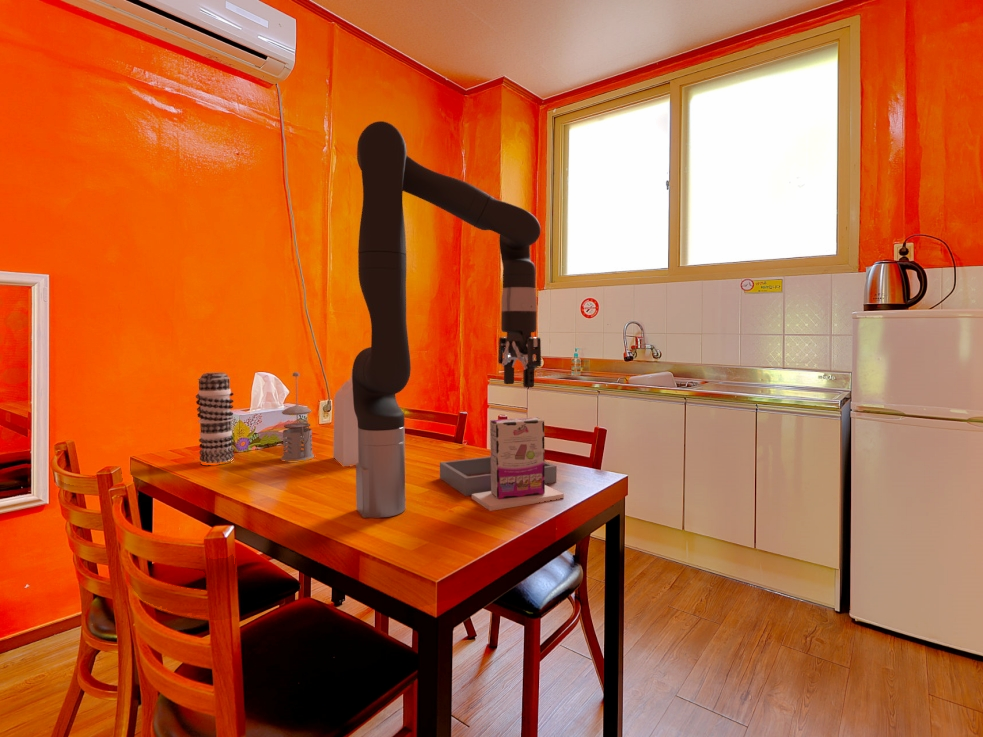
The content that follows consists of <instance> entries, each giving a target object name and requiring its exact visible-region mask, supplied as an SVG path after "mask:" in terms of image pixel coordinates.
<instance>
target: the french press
mask: <svg viewBox="0 0 983 737" xmlns="http://www.w3.org/2000/svg"><path fill="white" fill-rule="evenodd" d="M300 376H301V375H300V373H299V372H297V371H295V372H293V373H292V377H295V402H296V403H295V405H293V406H289V407H287V408H285V409H284V410H282V411H281V414H282V415H286V416H296V422H295V423H293V422H292V423H286V424H284V425H283V427H284V428H285V429H284V430H283V431H282V437H283V438H282V442H283V444H282V445H283V454H282V455H283V456H282V457H281V458H280V459H281V460H285V461H299V460H306V459H310V458H313V457H314V455H315V454H314V453H313V440H312V438H313V436H312V433H313V432H312V431H313V430H312V428H310V427H311V423H309V422H308V419H307V417H304V421H302V419H301V418H300V417H299V418H298V416H299V415H307V414H310V413H312V410H311V408H309V407H306V406H303V405H298V381H297V380H298V377H300Z"/></svg>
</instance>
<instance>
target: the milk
mask: <svg viewBox="0 0 983 737" xmlns="http://www.w3.org/2000/svg"><path fill="white" fill-rule="evenodd" d="M333 399H334V404H333V406H334V407H333V408H334V409H333V410H334V411H333V412H334V413H333V447H332V448H333V450H332V451H333V453H332V454H333V455H332V458H333V457H334V458H335V459H336V460H337V461H338V462H340V463H341V464H342V465H343V466H350V465H356V464H357V463H358V421H357V417H356V414H355V411H354V404H353V386H352V372H351V375H350V378H349V379H348V380H346V381H345V382H343V384H342V385H341V387H340V388H339V389H338V390H337V391H336V393H335V394H334V398H333ZM334 458H333V459H334ZM335 459H334V460H335ZM336 460H335V461H336ZM337 461H336V462H337ZM338 462H337V463H338ZM350 467H351V466H350Z"/></svg>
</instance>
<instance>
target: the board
mask: <svg viewBox="0 0 983 737" xmlns="http://www.w3.org/2000/svg"><path fill="white" fill-rule="evenodd" d="M560 498H563V499H564V498H565V495H564V493H562V492H561V491H559V490H556V489H554V488H552V487H550V486H548V485H547V484H545V494H540V495H531V496H523V497H514V498H505V499H497V498H496V497H495V496H494V495H493V494H492V493H491V491H488V492H481V493H475V494H472V495H471V499H472V500H473V501H475V503H476V502H477V503H478V504H479V505H480V506H482V507H483V508H485V509H486V510H488V511H489V512H491V511H497V510H504V509H509V508H516V507H521V506H527V505H533V504H538V503H539V502H540V503H544V501H546V502H551V501H550V500H552V501H556V499H557V500H561V499H560ZM540 503H539V504H540Z"/></svg>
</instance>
